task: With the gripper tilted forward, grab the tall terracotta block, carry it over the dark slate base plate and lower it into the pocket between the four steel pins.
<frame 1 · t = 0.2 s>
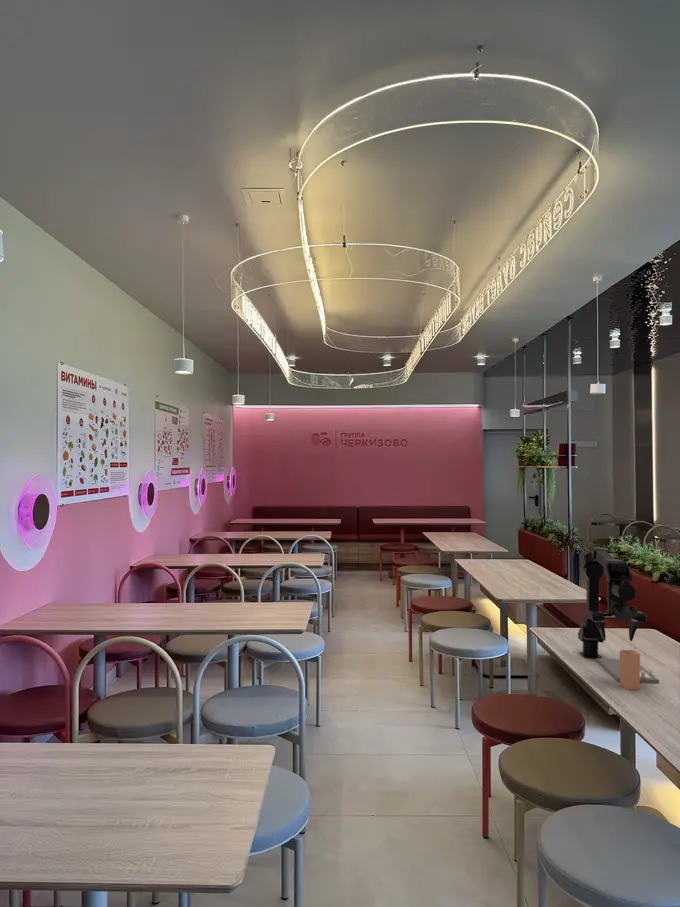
hand: (617, 640, 214), 14 cm above the table, tool pointing down, fingers open, 9 cm apart
terracotta block: (629, 687, 208), on the table
base plate: (626, 671, 224), on the table
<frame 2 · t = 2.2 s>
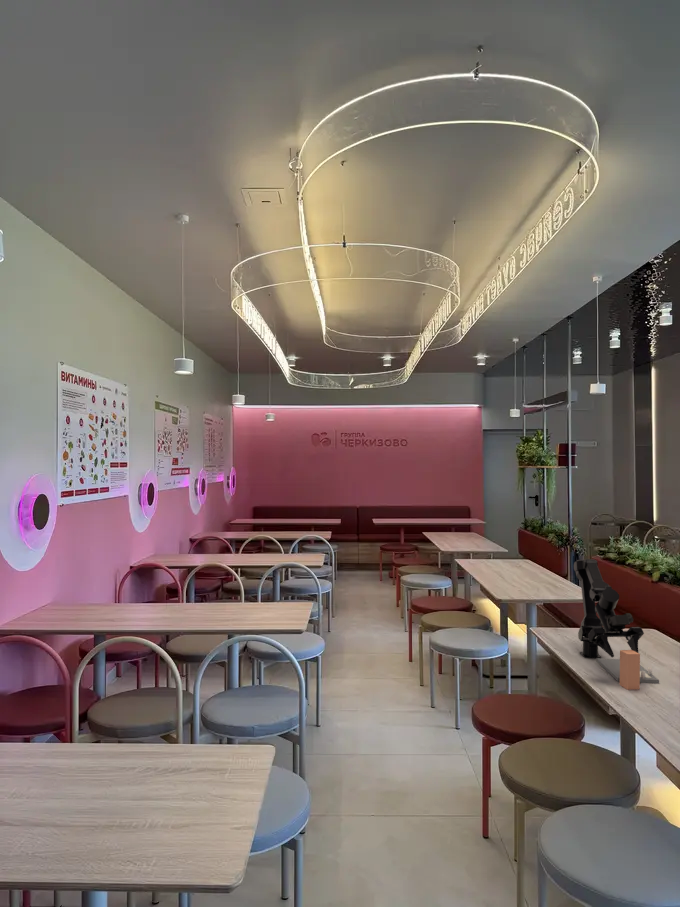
hand: (625, 656, 211), 10 cm above the table, tool tilted 45°, fingers open, 9 cm apart
nothing on the table moved.
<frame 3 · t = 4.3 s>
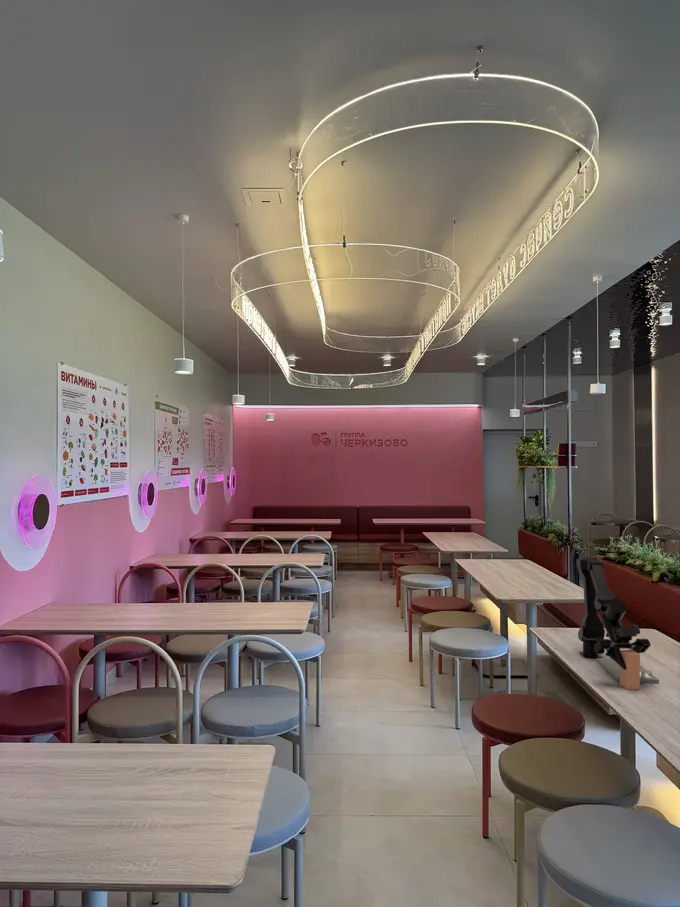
hand: (632, 669, 207), 7 cm above the table, tool tilted 45°, fingers closed on terracotta block, 4 cm apart
terracotta block: (629, 686, 208), on the table, touching gripper
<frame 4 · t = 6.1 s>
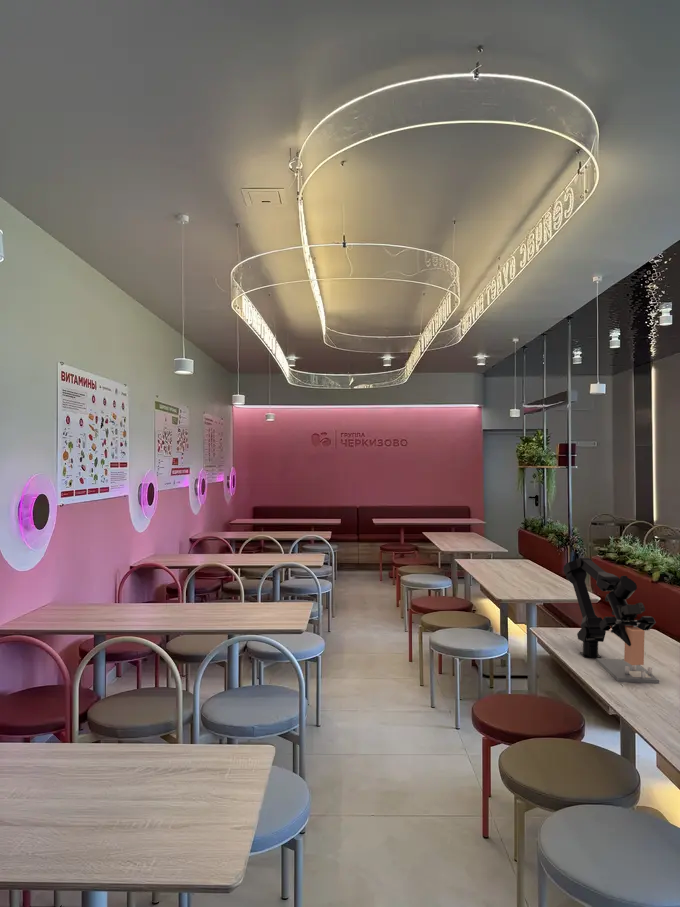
hand: (636, 645, 213), 13 cm above the table, tool tilted 45°, fingers closed on terracotta block, 4 cm apart
terracotta block: (633, 662, 214), point 6 cm above the table, touching gripper
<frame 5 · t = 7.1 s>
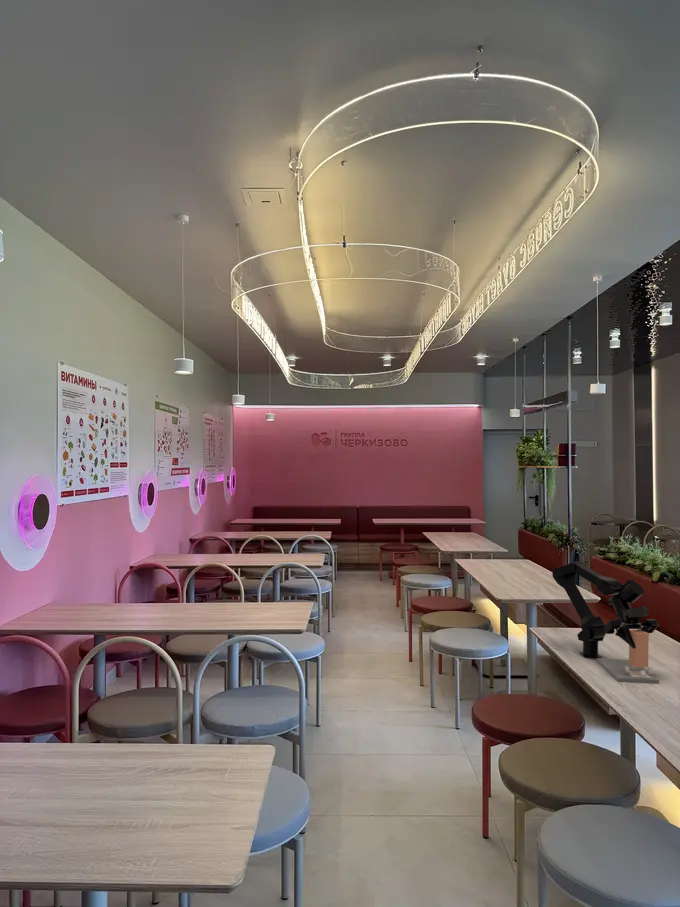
hand: (641, 648, 216), 11 cm above the table, tool tilted 45°, fingers closed on terracotta block, 4 cm apart
terracotta block: (638, 665, 218), point 4 cm above the table, touching gripper
when the fingers open (9 cm above the table, at t = 7.9 s): terracotta block drops 1 cm, resting on base plate.
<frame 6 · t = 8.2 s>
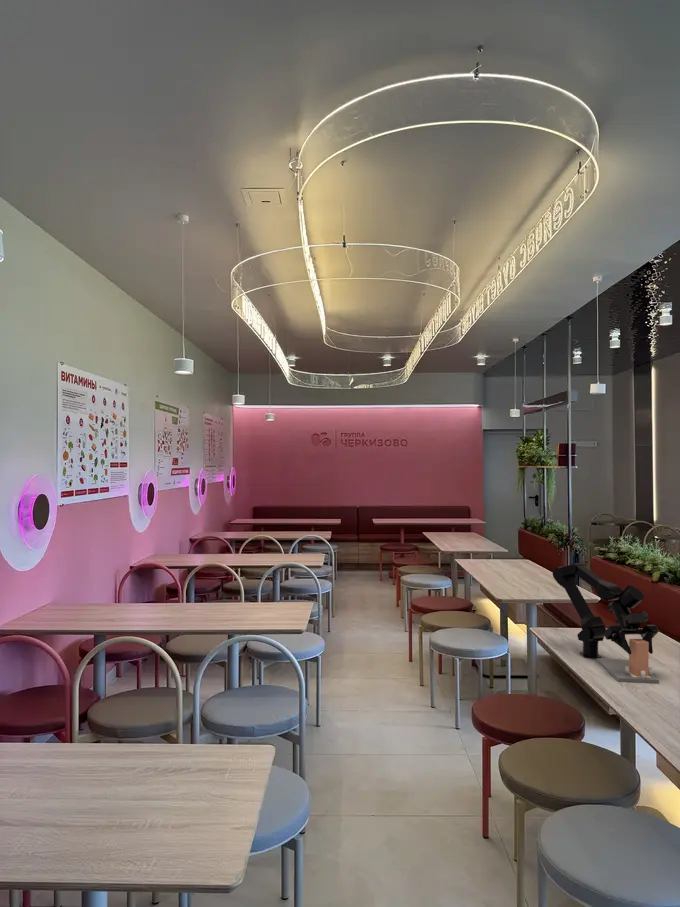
hand: (641, 653, 216), 9 cm above the table, tool tilted 45°, fingers open, 8 cm apart
terracotta block: (638, 674, 218), point 1 cm above the table, touching base plate
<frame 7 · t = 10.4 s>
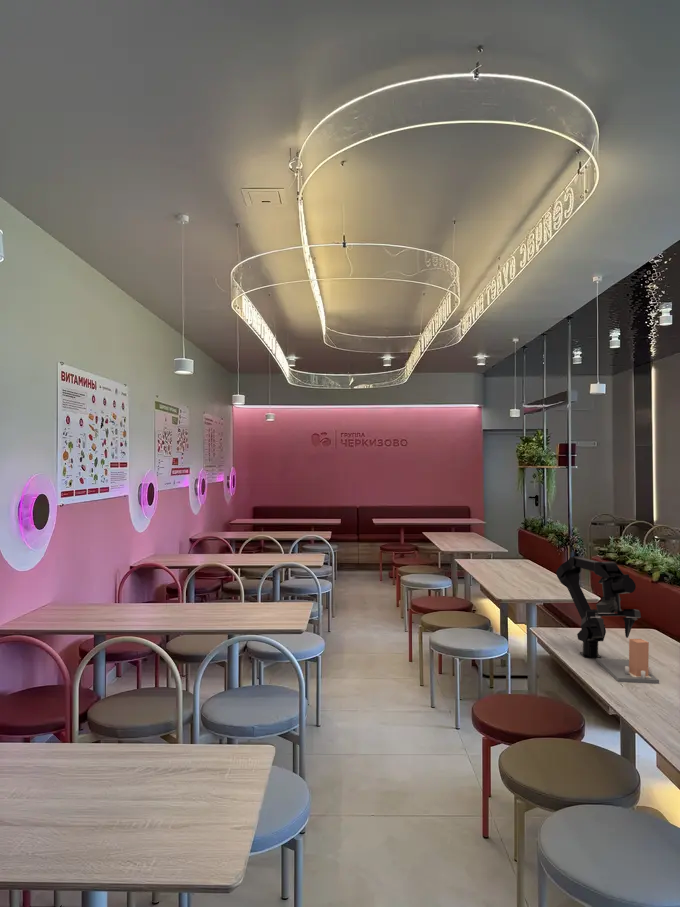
hand: (614, 637, 226), 12 cm above the table, tool tilted 15°, fingers open, 9 cm apart
nothing on the table moved.
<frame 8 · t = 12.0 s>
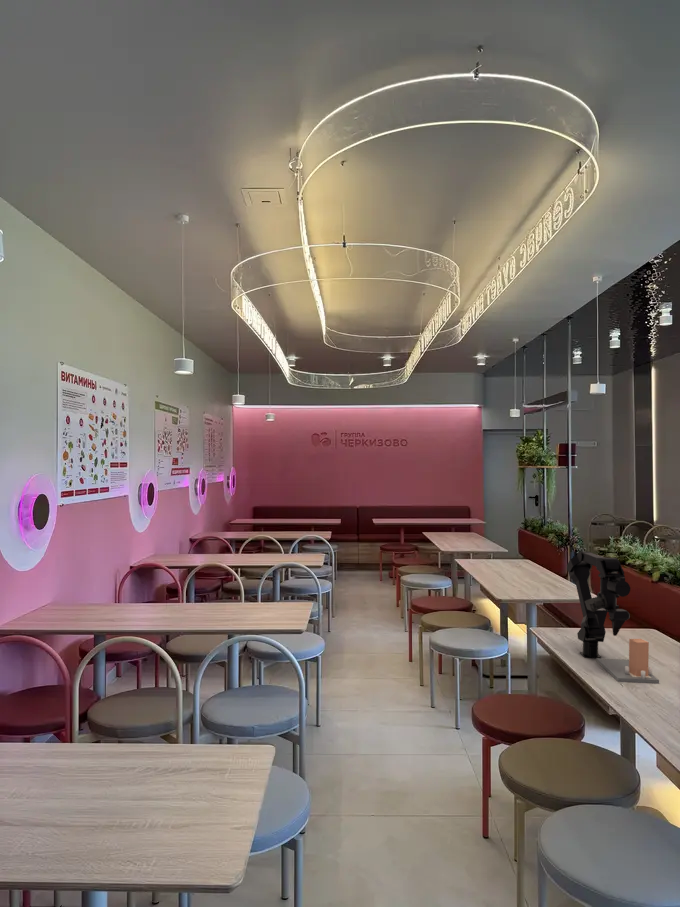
hand: (607, 632, 229), 13 cm above the table, tool pointing down, fingers open, 9 cm apart
nothing on the table moved.
at the end: terracotta block 0.0 cm from the target spot on the base plate, point 1.3 cm above the base plate's base; terracotta block tilted 0°; the gripper is holding nothing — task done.
